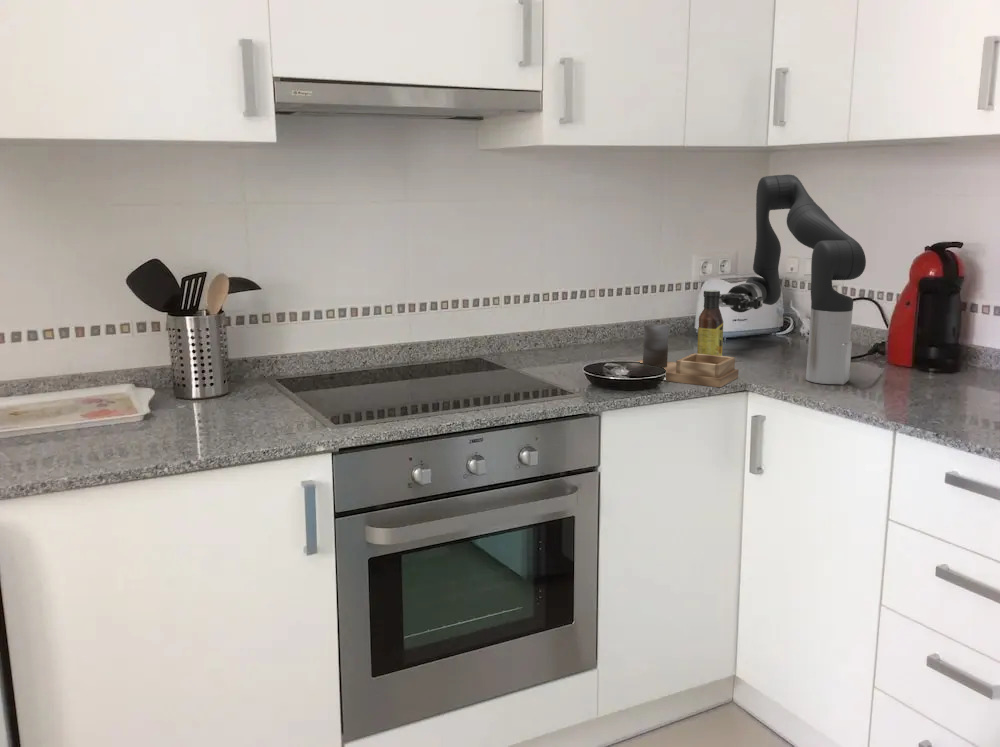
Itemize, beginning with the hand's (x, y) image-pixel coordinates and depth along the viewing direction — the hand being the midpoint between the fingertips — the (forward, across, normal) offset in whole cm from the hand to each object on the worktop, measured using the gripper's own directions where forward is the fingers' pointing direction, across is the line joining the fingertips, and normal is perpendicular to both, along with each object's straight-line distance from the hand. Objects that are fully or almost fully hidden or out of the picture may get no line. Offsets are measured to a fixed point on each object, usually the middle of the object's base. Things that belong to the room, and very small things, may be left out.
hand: (725, 304), depth 234 cm
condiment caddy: (+26, -2, +15) cm, 29 cm away
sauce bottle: (+12, 0, +15) cm, 19 cm away
